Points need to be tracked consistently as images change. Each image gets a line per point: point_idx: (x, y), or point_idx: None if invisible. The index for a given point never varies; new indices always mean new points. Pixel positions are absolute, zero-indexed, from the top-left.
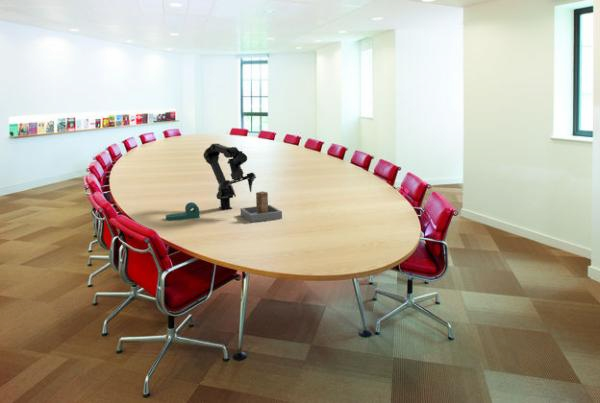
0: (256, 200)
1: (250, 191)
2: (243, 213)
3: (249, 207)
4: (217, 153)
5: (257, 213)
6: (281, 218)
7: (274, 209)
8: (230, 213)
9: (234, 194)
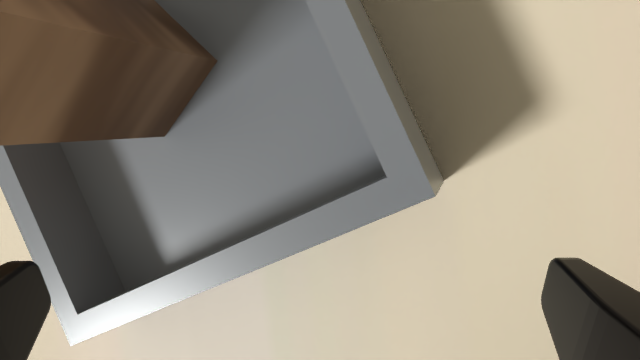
0: (38, 15)
1: (15, 263)
2: (377, 54)
3: (293, 234)
4: None
5: (191, 47)
6: None
7: None
8: None
9: (604, 297)
